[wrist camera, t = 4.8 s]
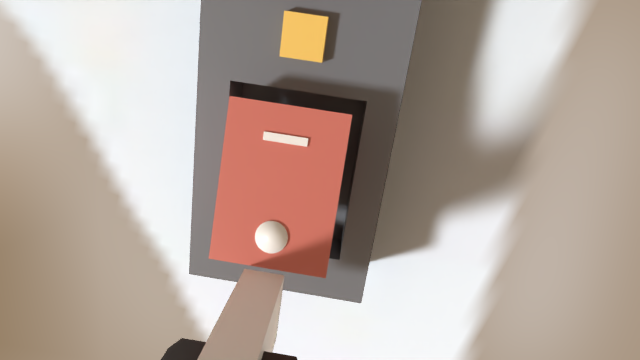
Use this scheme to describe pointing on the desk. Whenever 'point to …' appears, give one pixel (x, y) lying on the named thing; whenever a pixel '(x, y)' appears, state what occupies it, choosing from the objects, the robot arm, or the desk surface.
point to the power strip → (310, 92)
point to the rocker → (279, 186)
